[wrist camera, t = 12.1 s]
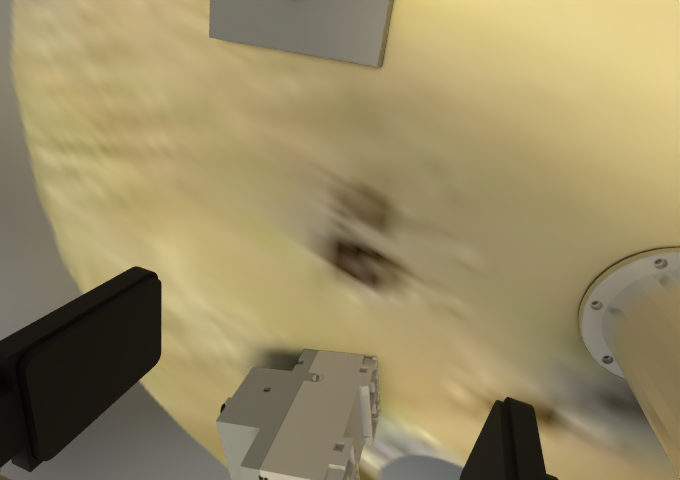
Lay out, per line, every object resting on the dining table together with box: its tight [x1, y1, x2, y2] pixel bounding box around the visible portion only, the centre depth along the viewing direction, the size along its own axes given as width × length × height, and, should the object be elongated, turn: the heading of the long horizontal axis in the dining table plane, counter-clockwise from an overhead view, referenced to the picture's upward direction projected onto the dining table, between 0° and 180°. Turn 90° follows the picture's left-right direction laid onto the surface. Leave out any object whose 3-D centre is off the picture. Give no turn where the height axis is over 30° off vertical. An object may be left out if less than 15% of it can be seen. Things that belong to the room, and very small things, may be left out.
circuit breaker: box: [216, 349, 380, 480], centre depth 40 cm, size 8×14×15 cm, turn 95°
